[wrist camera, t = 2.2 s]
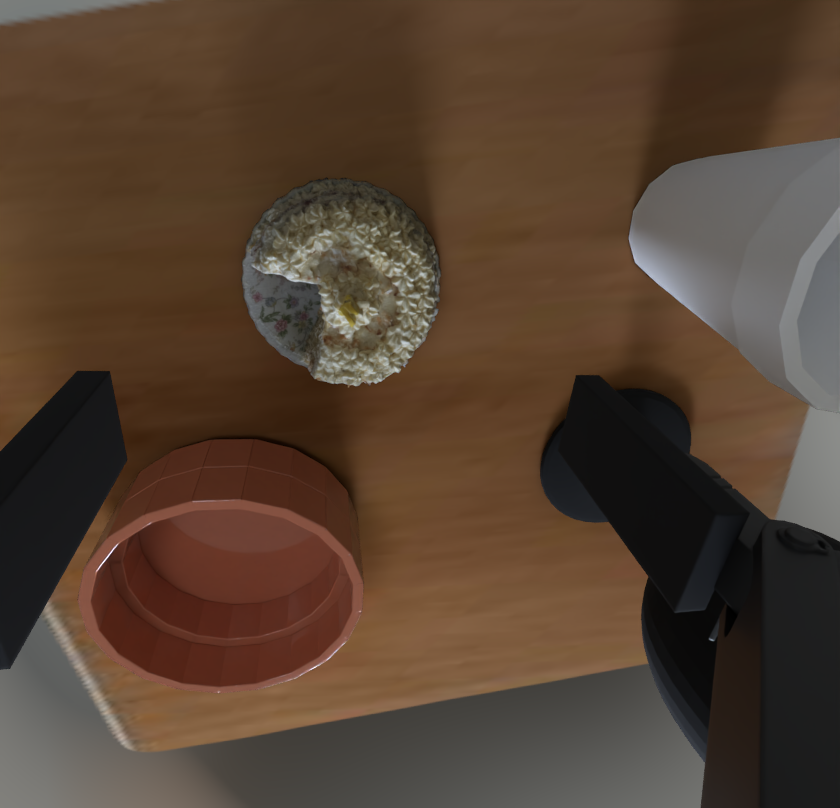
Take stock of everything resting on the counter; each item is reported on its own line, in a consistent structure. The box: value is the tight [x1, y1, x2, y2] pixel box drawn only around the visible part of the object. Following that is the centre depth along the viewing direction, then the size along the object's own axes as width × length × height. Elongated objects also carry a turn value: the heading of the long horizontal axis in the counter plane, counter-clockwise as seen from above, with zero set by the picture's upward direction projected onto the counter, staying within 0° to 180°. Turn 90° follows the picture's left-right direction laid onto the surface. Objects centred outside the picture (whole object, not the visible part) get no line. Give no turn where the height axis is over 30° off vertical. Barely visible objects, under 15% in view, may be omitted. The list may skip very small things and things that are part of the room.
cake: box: [241, 178, 441, 388], centre depth 25 cm, size 10×10×5 cm
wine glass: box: [540, 389, 840, 762], centre depth 27 cm, size 10×10×20 cm
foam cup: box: [629, 138, 840, 413], centre depth 23 cm, size 10×9×13 cm
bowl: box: [78, 439, 364, 693], centre depth 31 cm, size 14×14×6 cm
